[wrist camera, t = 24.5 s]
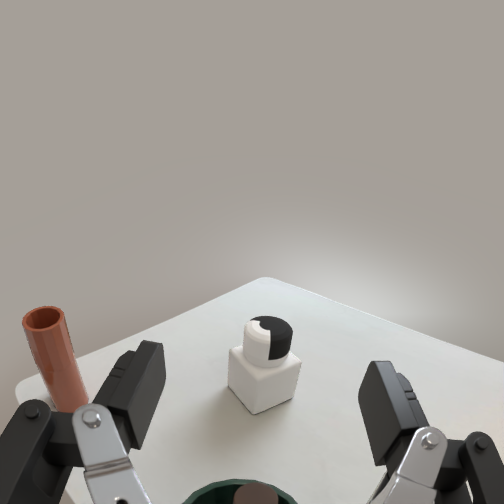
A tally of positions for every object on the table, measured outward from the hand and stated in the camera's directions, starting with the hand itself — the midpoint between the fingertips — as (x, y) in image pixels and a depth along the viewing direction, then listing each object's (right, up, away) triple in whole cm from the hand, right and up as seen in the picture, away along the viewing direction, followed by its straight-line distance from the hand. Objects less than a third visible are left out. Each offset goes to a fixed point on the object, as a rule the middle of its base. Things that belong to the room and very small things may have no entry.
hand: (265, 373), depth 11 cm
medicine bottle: (+1, -16, +30) cm, 34 cm away
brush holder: (-26, -16, +23) cm, 38 cm away
